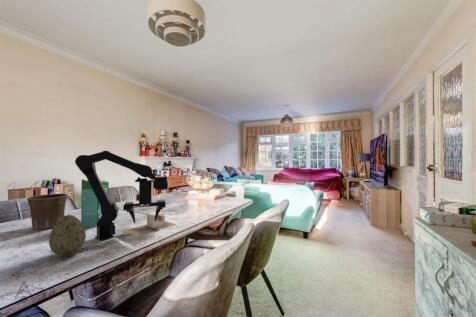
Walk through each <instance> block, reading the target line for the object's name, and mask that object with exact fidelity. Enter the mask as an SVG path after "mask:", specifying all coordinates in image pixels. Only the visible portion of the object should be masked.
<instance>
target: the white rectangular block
mask: <svg viewBox="0 0 476 317" xmlns="http://www.w3.org/2000/svg"><path fill="white" fill-rule="evenodd" d="M155 212H156V211H150V212H147V213H146V225H147V226H149V227H151V228H156V227H159V226H163V225H164V221H166V220H165V218H166V216H165V213H164V212H161V211H160V212H159V214H158V216H157V219H156V222H155Z"/></svg>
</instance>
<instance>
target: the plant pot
mask: <svg viewBox="0 0 476 317" xmlns="http://www.w3.org/2000/svg"><path fill="white" fill-rule="evenodd" d="M68 196H69V194H68V193H50V194H41V195H40V194H39V195H33V196H29V197H27V198H26V200H27V203H28V207H29V211H30V212H29V213H30V219H31V227H32V230H34V231H45V230H47V229H51V230H52V229H53V227H54V225H55V224H56V223H57V222H58V220H60V219H61V218H62V217H64V216H65V213H66V212H65V211H66V203H67V198H68Z"/></svg>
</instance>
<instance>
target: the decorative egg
mask: <svg viewBox="0 0 476 317" xmlns="http://www.w3.org/2000/svg"><path fill="white" fill-rule="evenodd" d="M86 237H87V234H86V229H85V226H83V224H82V222H81V219H79V218H78V217H76V216H75V215H72V214H66V215H64V217H62V218H61V219H60V220H58V222H57V223H56V224H55V225H54V227H53V228H51V231H50V234H49V238H48V244H49V248H50V250H51V252H52V253H53V254H54V255H57V256H60V257H69V256H72V255H74V254H76V253H78V252H79V251H80V249H82V247H83V246H84V244H85V242H86Z"/></svg>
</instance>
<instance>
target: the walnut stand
mask: <svg viewBox="0 0 476 317" xmlns="http://www.w3.org/2000/svg"><path fill="white" fill-rule="evenodd" d="M175 225H177V224H176V223H173V222H170V221H167V220H165V221H164V225H163V226H159V227H156V228H151V227H149V226H147V224H143V225H140V226H135V227H132V228H129V229H126V230H125V229H124V230H121V232H122V233H124V234H126V235H129V236H131V237H133V238H135V237H138V236H143V235H145V234H148V233H149V234H150V233H152V232H156V231H159V230H162V229H166V228H169V227H172V226H175Z"/></svg>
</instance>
